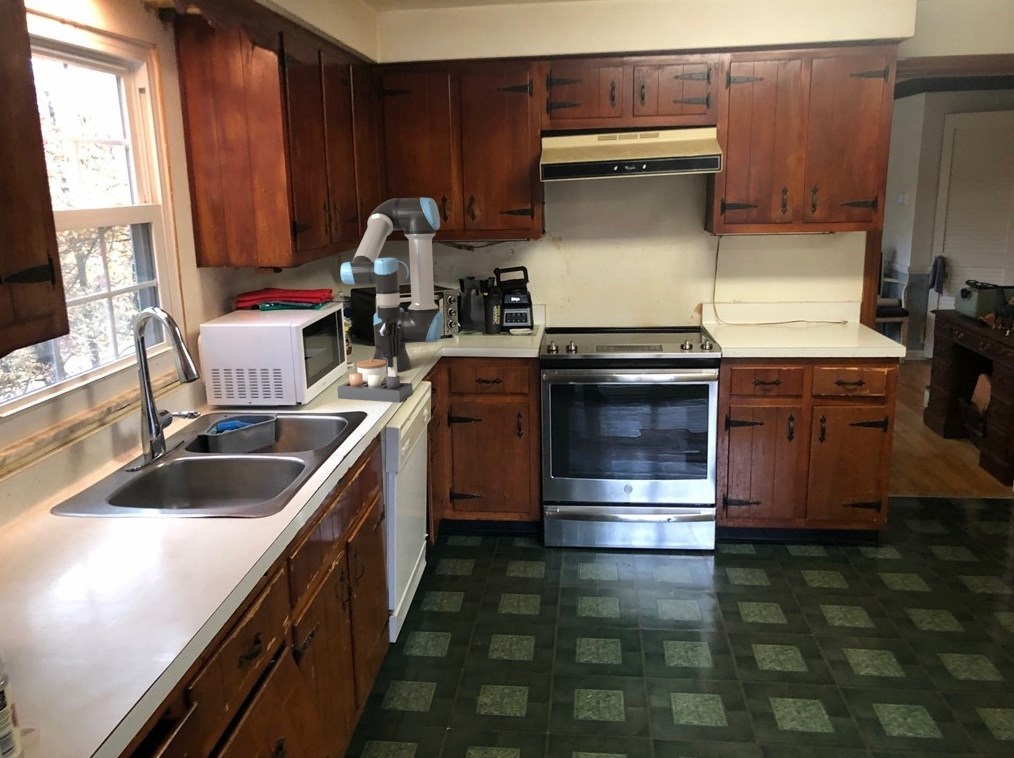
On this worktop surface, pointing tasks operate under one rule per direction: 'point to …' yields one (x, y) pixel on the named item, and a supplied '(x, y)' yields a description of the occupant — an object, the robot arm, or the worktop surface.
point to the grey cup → (393, 382)
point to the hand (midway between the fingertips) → (392, 376)
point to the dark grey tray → (375, 392)
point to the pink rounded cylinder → (356, 379)
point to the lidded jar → (372, 368)
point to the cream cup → (374, 380)
